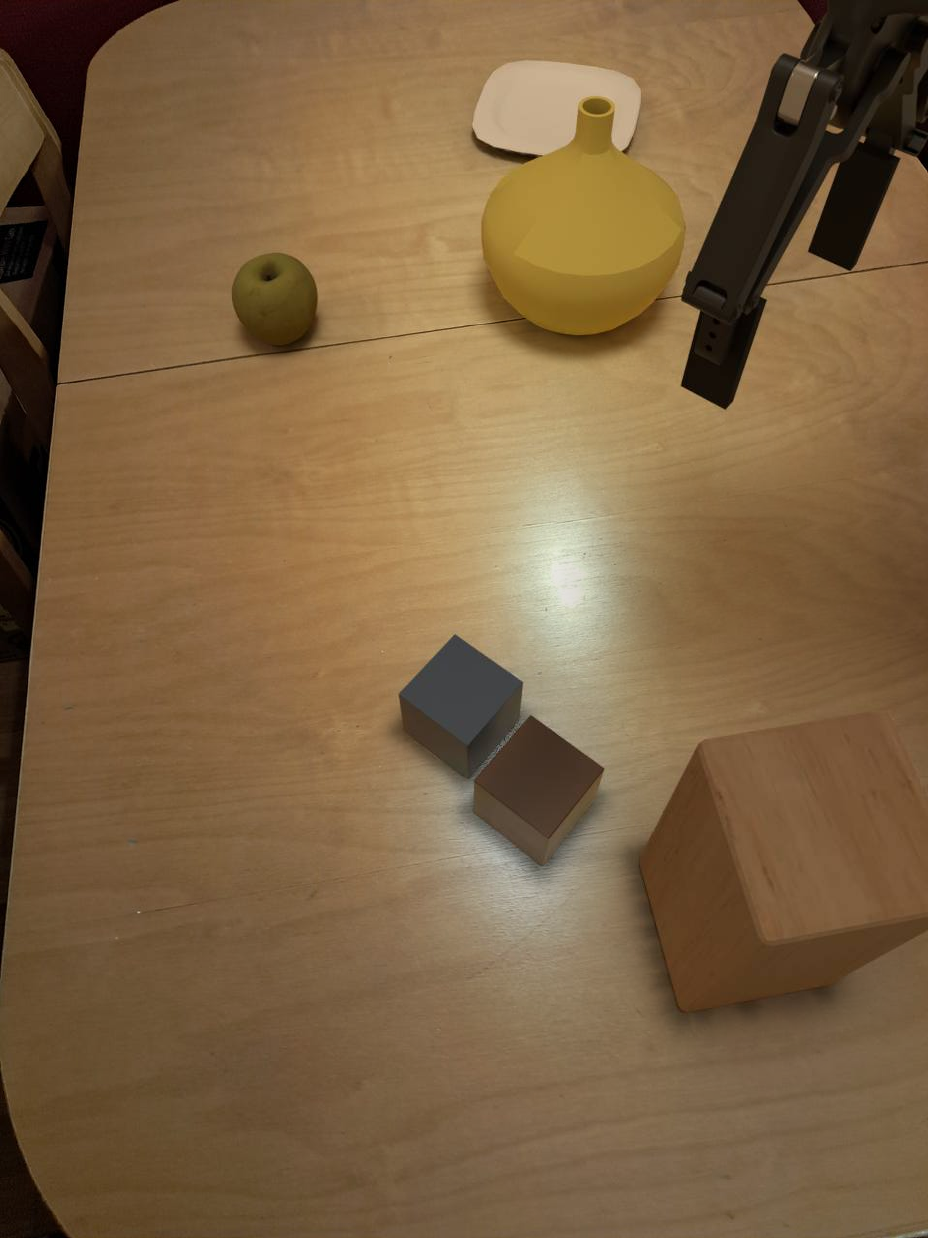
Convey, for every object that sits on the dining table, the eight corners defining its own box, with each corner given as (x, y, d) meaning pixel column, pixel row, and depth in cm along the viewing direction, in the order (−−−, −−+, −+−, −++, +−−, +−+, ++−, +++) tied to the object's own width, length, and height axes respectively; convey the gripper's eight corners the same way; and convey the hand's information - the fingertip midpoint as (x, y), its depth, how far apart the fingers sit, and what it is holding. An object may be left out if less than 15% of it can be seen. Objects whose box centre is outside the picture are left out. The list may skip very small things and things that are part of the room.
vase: (504, 380, 86) (511, 191, 69) (463, 252, 95) (461, 58, 79) (695, 350, 88) (746, 158, 71) (636, 226, 97) (670, 32, 81)
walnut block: (594, 800, 65) (605, 768, 60) (542, 867, 63) (548, 839, 58) (526, 749, 67) (530, 714, 62) (473, 812, 65) (473, 780, 60)
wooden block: (778, 832, 64) (890, 704, 47) (832, 985, 59) (980, 905, 42) (636, 857, 63) (696, 737, 46) (678, 1015, 58) (764, 945, 41)
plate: (646, 85, 110) (648, 71, 109) (624, 178, 101) (626, 163, 100) (495, 67, 112) (495, 52, 111) (461, 156, 103) (461, 141, 102)
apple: (226, 346, 88) (208, 284, 82) (271, 294, 92) (256, 231, 86) (296, 371, 87) (282, 309, 81) (338, 316, 90) (328, 254, 84)
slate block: (519, 719, 68) (523, 682, 63) (467, 780, 66) (467, 746, 61) (456, 673, 70) (454, 633, 65) (403, 730, 68) (398, 694, 63)
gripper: (982, -279, 39) (820, 184, 57) (652, -47, 29) (583, 423, 48) (1165, -236, 37) (935, 234, 55) (873, 33, 27) (711, 497, 45)
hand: (772, 322), depth 51 cm, fingers open, 13 cm apart
